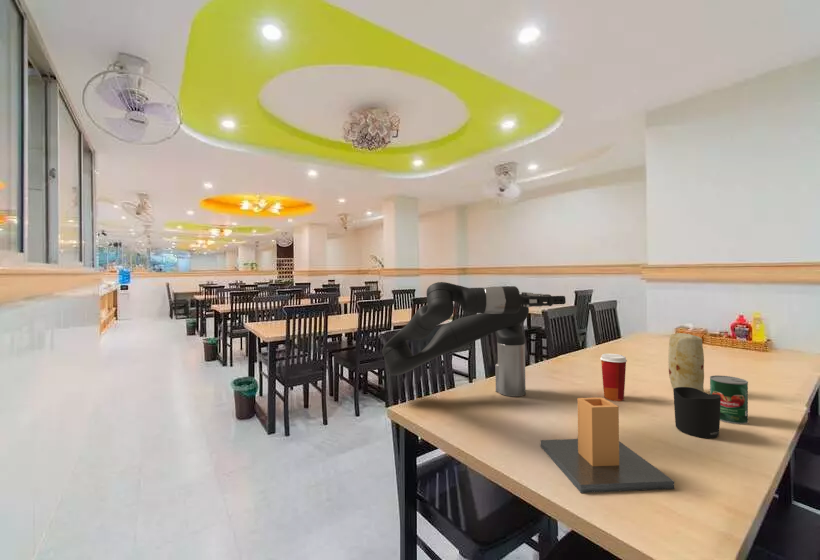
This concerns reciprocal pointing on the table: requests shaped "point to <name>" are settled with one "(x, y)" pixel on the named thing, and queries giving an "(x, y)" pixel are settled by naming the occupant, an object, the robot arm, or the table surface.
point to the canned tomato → (731, 398)
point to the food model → (686, 361)
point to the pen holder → (697, 412)
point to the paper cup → (613, 376)
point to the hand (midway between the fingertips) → (557, 299)
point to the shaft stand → (605, 469)
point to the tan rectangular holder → (598, 431)
